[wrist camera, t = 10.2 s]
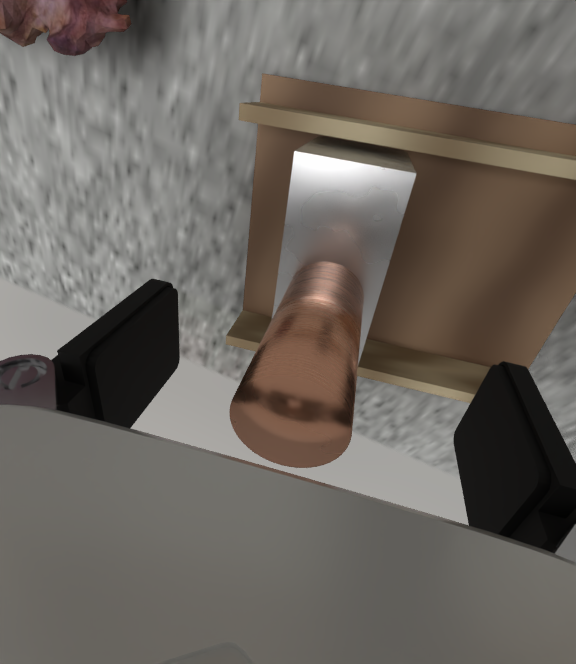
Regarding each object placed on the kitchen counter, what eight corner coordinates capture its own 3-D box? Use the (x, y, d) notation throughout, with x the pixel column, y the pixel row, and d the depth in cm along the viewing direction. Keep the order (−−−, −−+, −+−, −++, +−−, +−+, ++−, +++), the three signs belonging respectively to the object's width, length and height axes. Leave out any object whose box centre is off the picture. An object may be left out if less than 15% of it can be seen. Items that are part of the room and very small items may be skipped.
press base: (648, 137, 16) (727, 148, 13) (504, 381, 24) (526, 433, 20) (270, 75, 18) (241, 69, 14) (247, 321, 26) (225, 359, 22)
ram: (406, 151, 17) (449, 244, 6) (354, 334, 22) (329, 554, 12) (319, 135, 17) (216, 198, 7) (289, 319, 23) (206, 518, 12)
